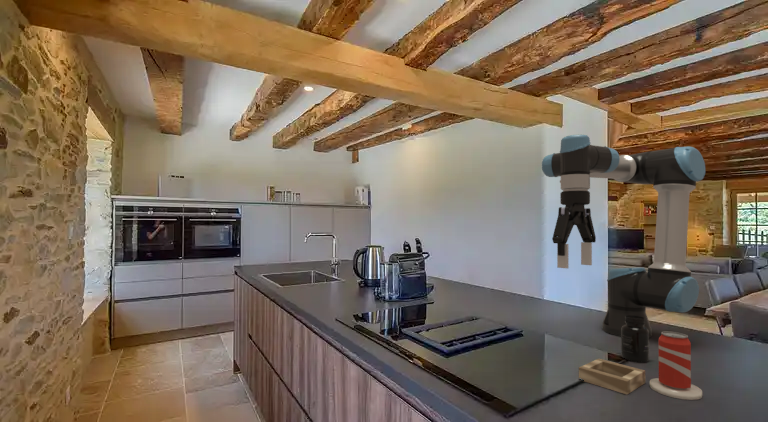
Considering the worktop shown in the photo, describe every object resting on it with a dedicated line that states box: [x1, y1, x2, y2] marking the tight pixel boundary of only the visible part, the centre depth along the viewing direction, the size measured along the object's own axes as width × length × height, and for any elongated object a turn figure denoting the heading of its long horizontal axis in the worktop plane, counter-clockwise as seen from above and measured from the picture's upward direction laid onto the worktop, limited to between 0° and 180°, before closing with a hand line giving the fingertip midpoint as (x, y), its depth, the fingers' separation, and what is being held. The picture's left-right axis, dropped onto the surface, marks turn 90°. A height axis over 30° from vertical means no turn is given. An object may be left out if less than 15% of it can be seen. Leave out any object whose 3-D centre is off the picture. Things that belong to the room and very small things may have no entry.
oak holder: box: [578, 358, 646, 395], centre depth 100 cm, size 11×11×3 cm
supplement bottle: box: [620, 315, 650, 363], centre depth 117 cm, size 7×7×12 cm
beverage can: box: [657, 331, 692, 390], centre depth 95 cm, size 6×6×12 cm
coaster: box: [649, 377, 703, 401], centre depth 95 cm, size 10×10×1 cm
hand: (575, 266), depth 114 cm, fingers open, 13 cm apart
